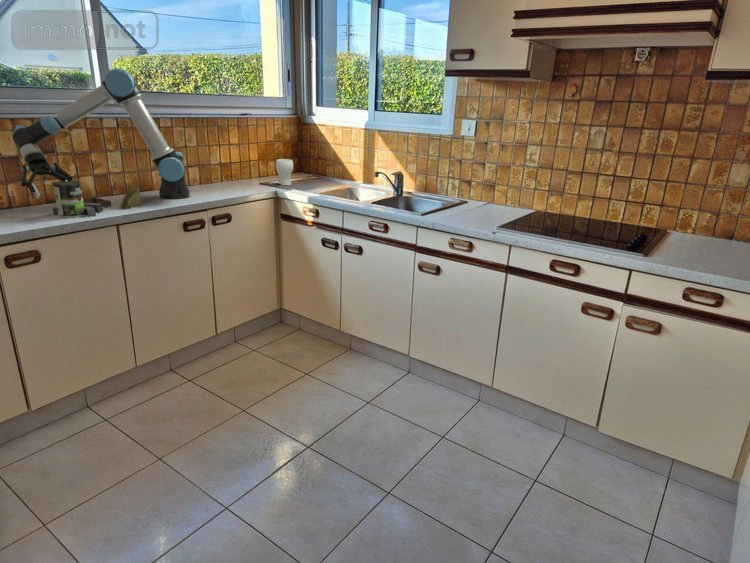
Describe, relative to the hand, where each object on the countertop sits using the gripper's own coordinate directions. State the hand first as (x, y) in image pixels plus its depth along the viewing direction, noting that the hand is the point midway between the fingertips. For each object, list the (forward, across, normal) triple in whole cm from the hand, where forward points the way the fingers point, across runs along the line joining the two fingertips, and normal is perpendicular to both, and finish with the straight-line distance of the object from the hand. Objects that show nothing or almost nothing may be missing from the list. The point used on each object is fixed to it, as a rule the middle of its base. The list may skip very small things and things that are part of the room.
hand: (56, 195), depth 217 cm
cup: (+15, -127, +3) cm, 128 cm away
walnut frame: (+2, -15, -9) cm, 18 cm away
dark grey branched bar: (+10, -5, -1) cm, 11 cm away
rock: (+13, -27, +1) cm, 30 cm away
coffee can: (+12, -1, +1) cm, 12 cm away
